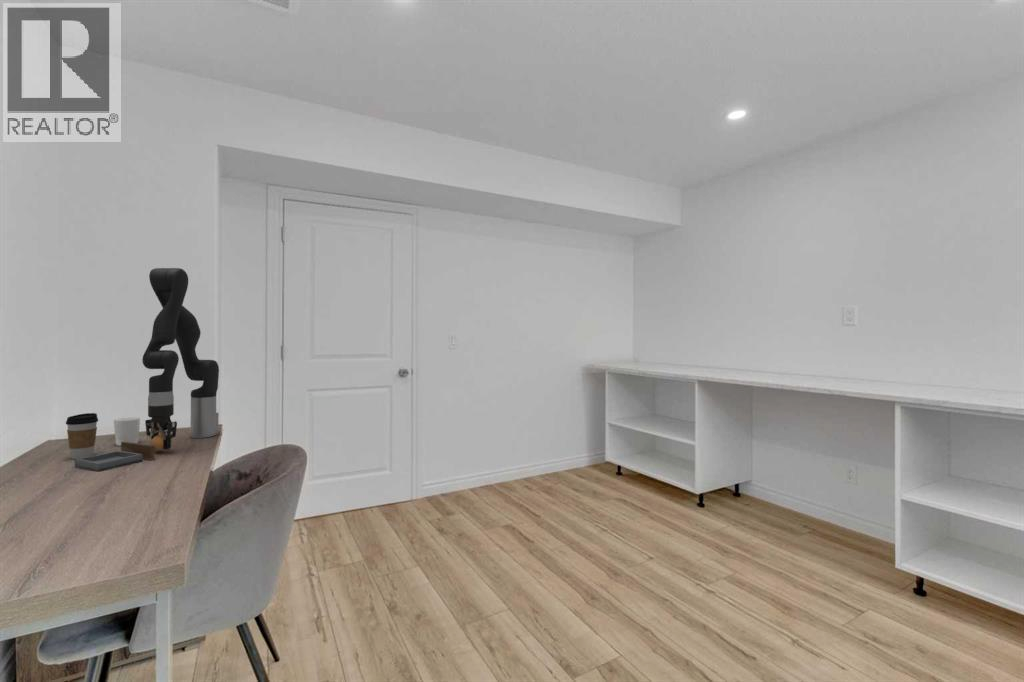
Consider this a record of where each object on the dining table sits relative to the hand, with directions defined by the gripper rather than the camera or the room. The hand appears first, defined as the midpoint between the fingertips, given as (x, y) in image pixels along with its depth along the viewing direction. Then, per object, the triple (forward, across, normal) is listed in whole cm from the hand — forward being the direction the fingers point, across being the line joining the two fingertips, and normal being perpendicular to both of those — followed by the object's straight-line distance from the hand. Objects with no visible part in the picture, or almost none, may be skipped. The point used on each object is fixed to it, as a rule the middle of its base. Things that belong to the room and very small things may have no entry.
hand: (161, 448), depth 166 cm
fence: (+2, 0, +8) cm, 8 cm away
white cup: (+2, +26, -4) cm, 26 cm away
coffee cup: (+2, +19, +14) cm, 24 cm away
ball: (+1, 0, 0) cm, 1 cm away
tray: (+2, 0, +16) cm, 16 cm away
